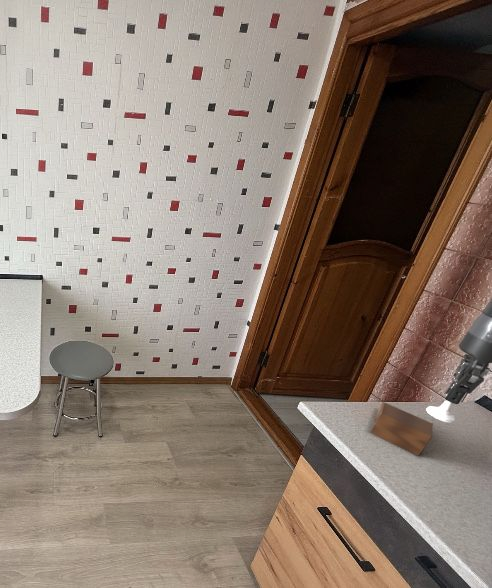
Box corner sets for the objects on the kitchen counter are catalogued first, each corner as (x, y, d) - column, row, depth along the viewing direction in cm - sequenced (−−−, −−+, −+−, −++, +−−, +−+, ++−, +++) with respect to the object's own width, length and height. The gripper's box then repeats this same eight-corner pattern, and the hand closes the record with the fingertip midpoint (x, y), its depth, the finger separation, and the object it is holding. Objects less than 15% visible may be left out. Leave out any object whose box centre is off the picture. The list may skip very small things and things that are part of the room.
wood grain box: (421, 430, 95) (434, 411, 92) (417, 456, 86) (431, 436, 83) (377, 410, 102) (388, 392, 99) (370, 432, 93) (381, 413, 90)
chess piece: (425, 413, 80) (446, 380, 76) (427, 405, 84) (448, 373, 79) (453, 426, 77) (478, 392, 73) (454, 417, 80) (478, 384, 76)
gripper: (526, 356, 64) (475, 422, 71) (516, 334, 73) (472, 395, 80) (470, 339, 69) (428, 403, 76) (467, 321, 78) (430, 379, 85)
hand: (451, 399), depth 78 cm, fingers closed on chess piece
